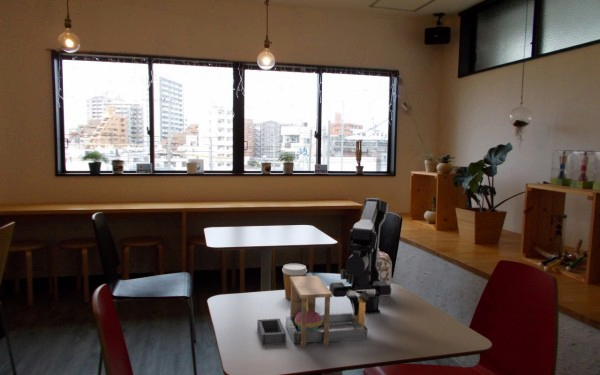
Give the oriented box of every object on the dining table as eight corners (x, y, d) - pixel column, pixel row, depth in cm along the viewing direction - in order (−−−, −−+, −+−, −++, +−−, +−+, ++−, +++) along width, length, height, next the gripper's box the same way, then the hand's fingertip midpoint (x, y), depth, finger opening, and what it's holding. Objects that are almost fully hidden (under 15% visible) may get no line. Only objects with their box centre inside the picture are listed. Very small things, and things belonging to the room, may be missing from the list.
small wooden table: (315, 321, 142) (317, 275, 141) (330, 345, 125) (332, 293, 124) (288, 323, 140) (289, 276, 139) (299, 347, 123) (301, 294, 122)
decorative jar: (377, 286, 180) (379, 244, 179) (391, 296, 169) (393, 251, 168) (351, 288, 177) (353, 245, 175) (363, 298, 166) (365, 252, 164)
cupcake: (290, 330, 135) (291, 292, 134) (314, 326, 138) (315, 290, 137) (300, 341, 127) (302, 302, 126) (326, 337, 130) (328, 299, 129)
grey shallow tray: (354, 321, 143) (355, 292, 142) (368, 338, 130) (370, 307, 129) (286, 325, 138) (287, 295, 137) (294, 343, 125) (295, 311, 124)
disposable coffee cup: (287, 303, 158) (289, 271, 157) (277, 294, 166) (278, 264, 165) (310, 299, 162) (311, 268, 161) (299, 291, 171) (300, 262, 169)
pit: (279, 327, 136) (279, 318, 136) (285, 343, 126) (285, 333, 125) (257, 329, 135) (257, 319, 134) (261, 345, 124) (262, 335, 124)
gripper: (379, 259, 144) (376, 304, 146) (325, 260, 140) (323, 307, 142) (393, 268, 133) (390, 317, 135) (335, 270, 129) (333, 320, 131)
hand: (358, 315), depth 136 cm, fingers closed on grey shallow tray, 2 cm apart
